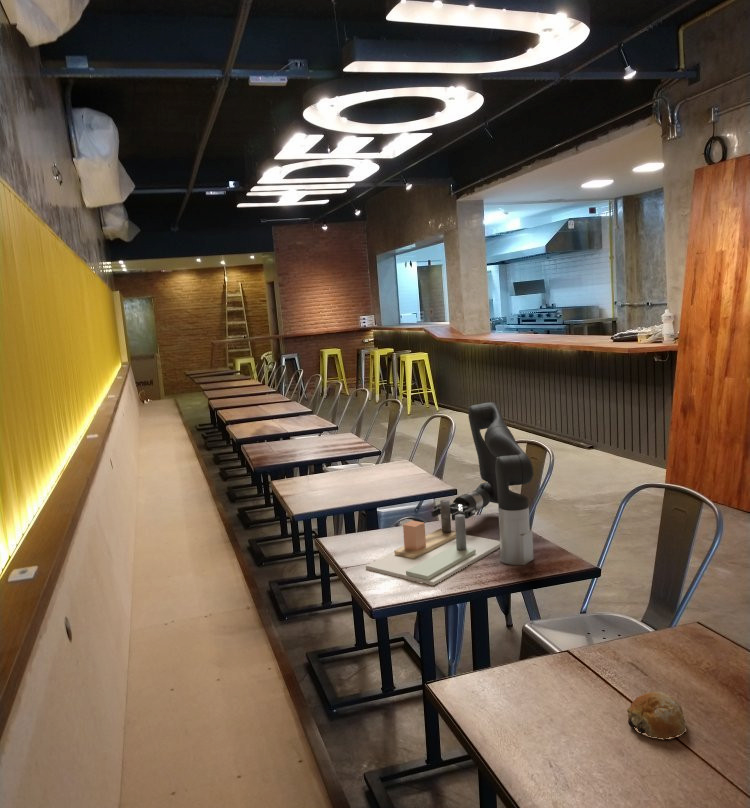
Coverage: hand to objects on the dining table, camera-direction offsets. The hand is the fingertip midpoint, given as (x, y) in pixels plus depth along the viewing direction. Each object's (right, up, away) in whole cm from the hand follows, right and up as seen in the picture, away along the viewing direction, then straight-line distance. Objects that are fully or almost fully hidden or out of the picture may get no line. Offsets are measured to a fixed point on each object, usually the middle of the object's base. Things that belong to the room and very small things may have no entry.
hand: (442, 515), depth 242 cm
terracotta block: (-10, -9, -11) cm, 17 cm away
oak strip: (-5, -9, -6) cm, 12 cm away
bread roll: (+30, -22, -110) cm, 116 cm away
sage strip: (-2, -11, -24) cm, 26 cm away
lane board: (-3, -11, -14) cm, 18 cm away
